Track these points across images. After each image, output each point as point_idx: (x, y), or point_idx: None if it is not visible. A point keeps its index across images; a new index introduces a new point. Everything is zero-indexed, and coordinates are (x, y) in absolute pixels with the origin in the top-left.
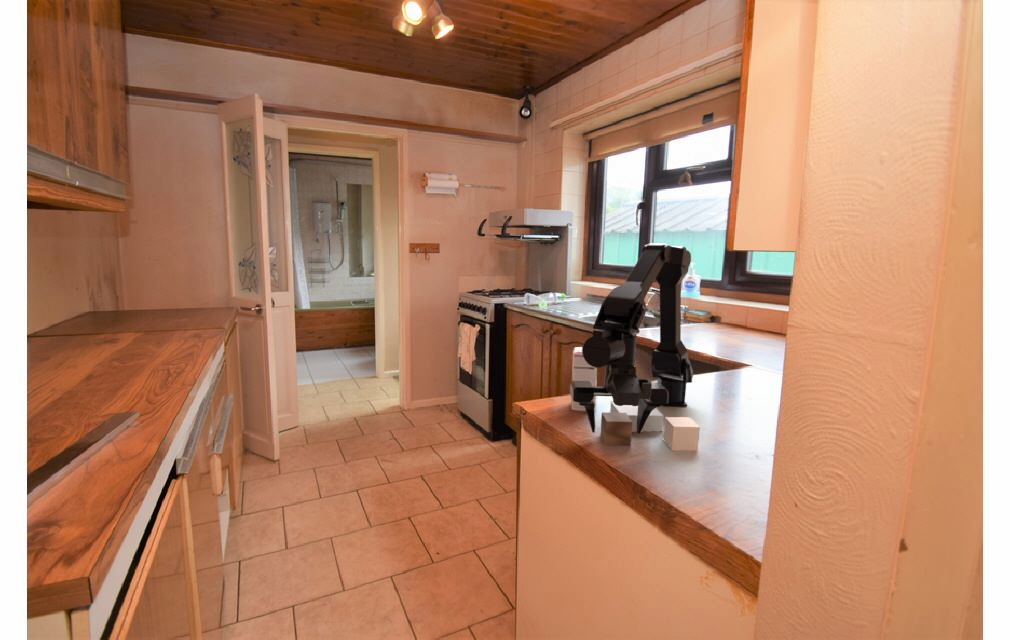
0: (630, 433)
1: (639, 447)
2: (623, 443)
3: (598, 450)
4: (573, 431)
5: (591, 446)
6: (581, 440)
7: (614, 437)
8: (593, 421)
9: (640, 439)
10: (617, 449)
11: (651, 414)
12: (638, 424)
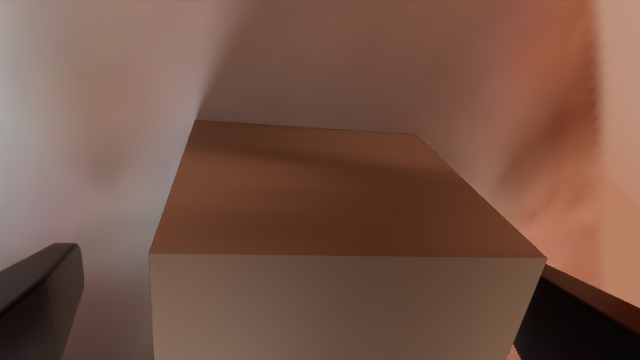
0: (191, 167)
1: (116, 71)
2: (265, 128)
3: (522, 29)
4: None
5: (538, 110)
6: (554, 213)
7: (365, 155)
8: (614, 309)
9: (67, 237)
10: (349, 39)
11: None
12: (37, 323)
